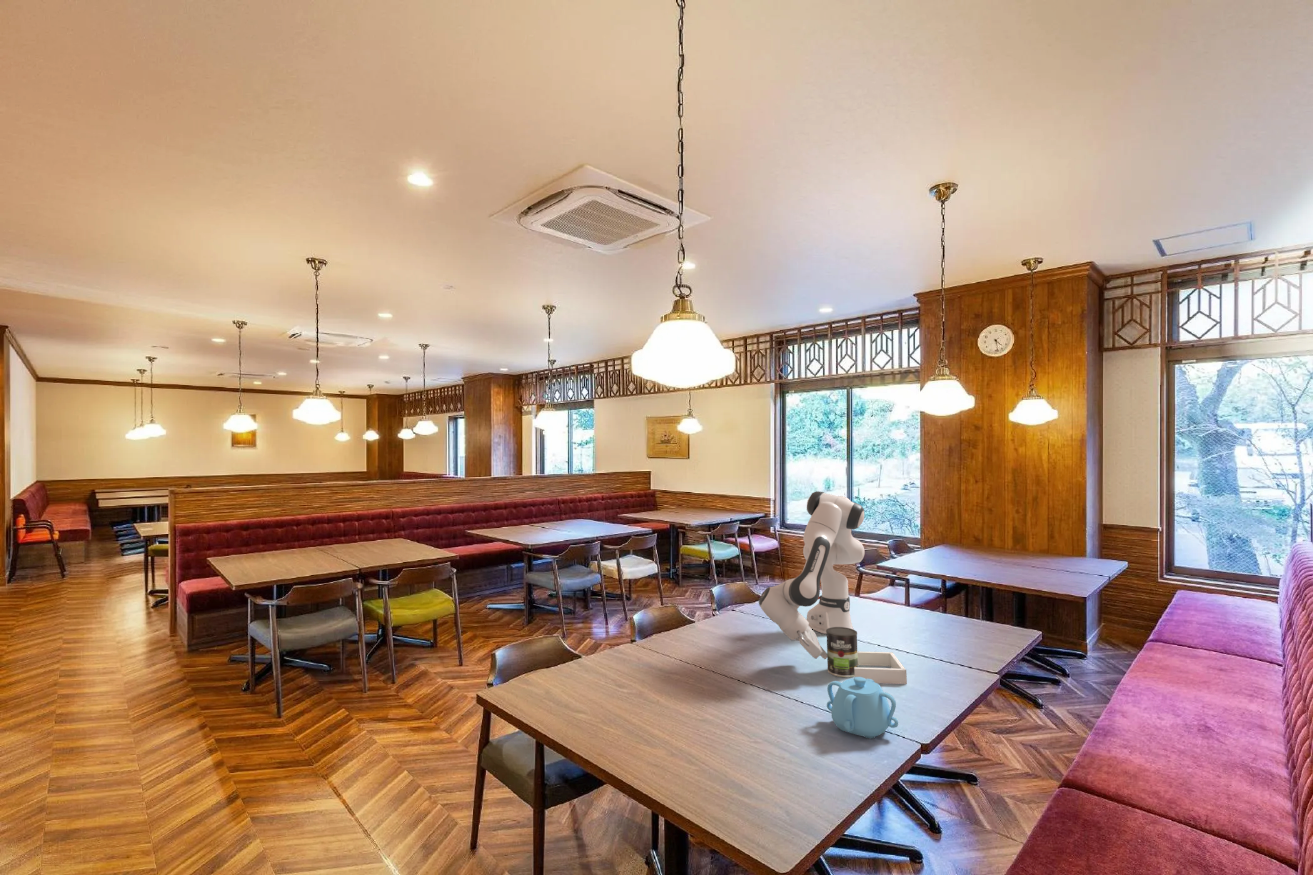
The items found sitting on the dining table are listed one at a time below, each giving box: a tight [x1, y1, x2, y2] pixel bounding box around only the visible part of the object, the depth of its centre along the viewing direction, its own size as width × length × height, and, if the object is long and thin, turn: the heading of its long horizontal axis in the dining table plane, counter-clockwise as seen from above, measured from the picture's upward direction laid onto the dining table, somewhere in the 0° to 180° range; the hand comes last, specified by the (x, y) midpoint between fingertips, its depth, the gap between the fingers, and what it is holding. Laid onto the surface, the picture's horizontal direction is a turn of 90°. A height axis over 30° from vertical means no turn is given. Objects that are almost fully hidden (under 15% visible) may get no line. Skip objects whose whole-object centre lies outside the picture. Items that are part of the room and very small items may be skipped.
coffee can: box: [826, 627, 859, 679], centre depth 198 cm, size 10×10×14 cm
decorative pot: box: [826, 677, 899, 739], centre depth 157 cm, size 16×16×14 cm
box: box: [853, 650, 908, 685], centre depth 196 cm, size 16×17×4 cm
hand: (826, 656), depth 199 cm, fingers closed
